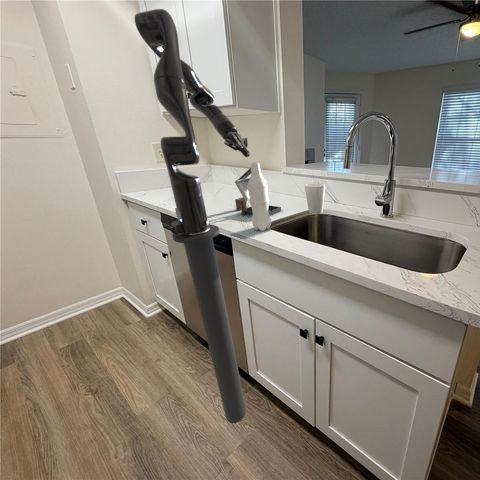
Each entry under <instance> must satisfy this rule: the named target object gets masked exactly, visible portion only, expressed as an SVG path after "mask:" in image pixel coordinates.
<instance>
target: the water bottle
mask: <svg viewBox="0 0 480 480" xmlns="http://www.w3.org/2000/svg"><path fill="white" fill-rule="evenodd" d="M250 168H251V174H250V176H249V177H250V179H249V182H248V190H249V198H250V200H249V205H250V207H252V211H253V216H252V221H251V224H252V226H253V228H254V230H256V231H261V232H262V231H263V232H264V231H265V230H266V229H267V230H269V229H270V228H271V225H272V219H271V217H270V216H271V215H270V216H269V211H268V206H270V198H269V191H268V183H267V180H266V179H265V178H264V176H263V174H262V172H261V170H262V169H261V166H260V162H250Z"/></svg>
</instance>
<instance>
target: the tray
mask: <svg viewBox="0 0 480 480" xmlns="http://www.w3.org/2000/svg"><path fill="white" fill-rule="evenodd" d="M240 211H241V215H243V213H242V210H240ZM268 211H269V216H273V215H275V214H277V213H280V212H282V207H281V206H275V205H269V206H268ZM245 216H251V217H253V211H252V207H251V206H248V207H247V208H246V215H245Z"/></svg>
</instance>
